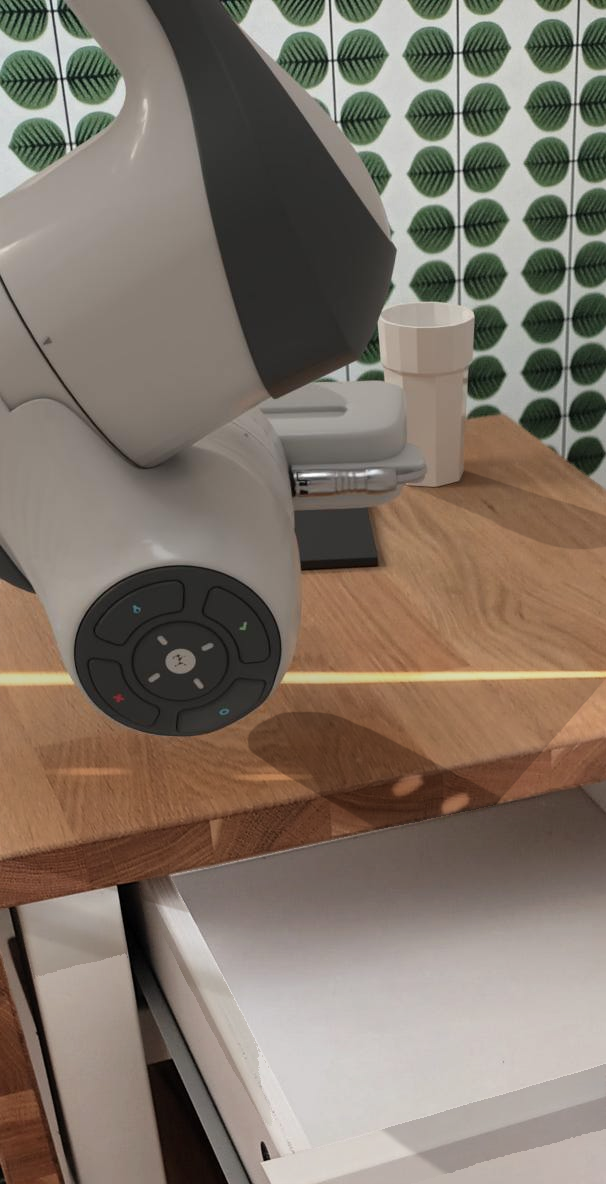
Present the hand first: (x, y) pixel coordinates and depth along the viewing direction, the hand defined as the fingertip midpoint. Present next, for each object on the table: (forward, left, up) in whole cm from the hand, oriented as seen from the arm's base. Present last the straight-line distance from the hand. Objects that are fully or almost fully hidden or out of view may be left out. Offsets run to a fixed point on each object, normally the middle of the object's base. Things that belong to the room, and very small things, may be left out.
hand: (187, 391), depth 76 cm
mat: (+3, +21, -16) cm, 27 cm away
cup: (+15, +31, -16) cm, 38 cm away
